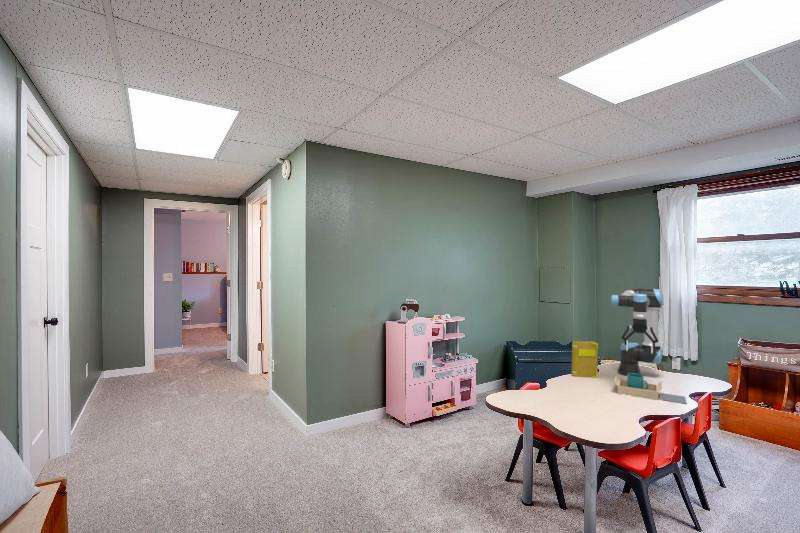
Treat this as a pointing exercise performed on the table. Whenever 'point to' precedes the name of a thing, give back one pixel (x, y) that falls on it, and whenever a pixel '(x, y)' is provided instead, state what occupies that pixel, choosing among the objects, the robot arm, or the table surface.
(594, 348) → the book
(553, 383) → the table surface
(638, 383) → the cup
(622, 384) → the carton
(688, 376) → the table surface
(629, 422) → the table surface
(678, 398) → the mat
